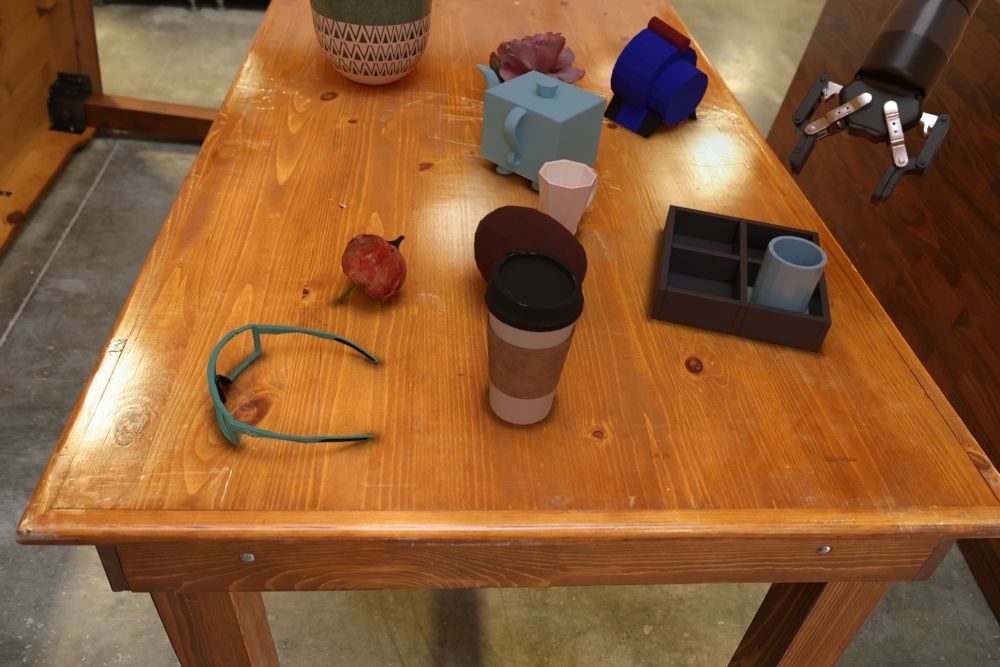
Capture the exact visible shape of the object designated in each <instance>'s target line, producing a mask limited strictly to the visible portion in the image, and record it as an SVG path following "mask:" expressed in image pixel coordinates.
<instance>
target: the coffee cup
mask: <svg viewBox="0 0 1000 667" xmlns="http://www.w3.org/2000/svg"><path fill="white" fill-rule="evenodd" d="M584 297H585V296H584V293H583V283H581V279H580V277H579V275H578V274H577V273H576V271H575V270H574V269H573V268H572V267H571V266H570V265H569V264H567V263H566V262H565V261H563V260H562V259H560V258H558V257H556V256H555V255H552V254H550V253H548V252H544V251H541V250H535V249H520V250H513V251H508V252H506V253H504V254H503V255H502V256H500V257H499V258H498V259H497V260H496V262H495V263H494V265H493V267H492V271H491V275H490V279H489V281H488V282H487V283H486V286H485V292H484V303H485V306H486V308H487V310H488V311H487V314H486V334H487V338H486V339H487V362H488V363H487V364H488V365H487V366H488V381H489V382H488V386H489V387H488V388H489V389H488V391H489V392H488V399H489V400H488V401H489V405H490V409H491V410H492V412H494V414H495V415H496V416H497V417H498V418H500V419H501V420H502V421H505V422H507V423H510V424H513V425H514V424H515V425H519V426H520V425H522V426H524V425H532V424H536V423H538V422H541V421H542V420H544V419H545V418H546V417H547V416H548V414H549V413H550V411H551V409H552V405H553V401H554V398H555V395H556V392H557V387H558V385H559V382H560V379H561V376H562V372H563V369H564V366H565V363H566V360H567V356H568V353H569V350H570V348H571V344H572V340H573V338H574V335H575V331H576V322H577V321H578V320H579V318H580V317H581V315H582V313H583V311H584V310H583V309H584V304H585V298H584Z"/></svg>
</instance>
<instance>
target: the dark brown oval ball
mask: <svg viewBox="0 0 1000 667" xmlns="http://www.w3.org/2000/svg"><path fill="white" fill-rule="evenodd" d="M473 237H474V239H473V257H474V261H475V265H476V267H477V268H476V269H477V270H478V271H479V273H480V276H482V278H483V280H484V283H486V284H487V282H488V281H489V279H490V275H491V271H492V267H493V265H494V263H495V262H496V260H497V259H498V258H499V257H500V256H502V255H503V254H504V253H506V252H508V251H513V250H520V249H535V250H541V251H544V252H548V253H550V254H552V255H555V256H556V257H558V258H560V259H562V260H563V261H565V262H566V263H567V264H569V265H570V266H571V267H572V268H573V269H574V270H575V271H576V273H577V274H578V275H579V277H580V279H581V283H582V284H584V282H585V278H586V276H587V272H588V258H587V252H586V250H585V248H584V246H583V244H582V243H581V241H580V240H578V238H577V237H576V236H575V235H573V234H572V233H571V232H570V231H569V230H567V229H566V228H565V227H564V226H563V225H562V224H561V223H559V222H558V221H556V220H555V219H554V218H552V217H551V216H549V215H547V214H545V213H543V212H541V211H540V210H538V209H536V208H533V207H529V206H522V205H511V204H507V205H503V206H500V207H497V208H495V209H494V210H492V211H490V212H489V213H487V214H486V215H485V216H484V217H483V218H481V219H480V220H479V222H478V225H477V227H476V230H475V232H474V236H473Z"/></svg>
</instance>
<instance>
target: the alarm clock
mask: <svg viewBox="0 0 1000 667" xmlns="http://www.w3.org/2000/svg"><path fill="white" fill-rule="evenodd" d="M691 43H692V42H691V39H690V38H689V37H688V36H686V35H684V34H683V33H682V32H680V31H679V30H677V29H675V27H672V26H671V25H670V24H668V23H667V22H665V21H664V20H663V19H660V18H659V17H658V16H656V15H654V16H652V17H650V19H649V20H648V22H647V26H646V28H643V29H642V30H640V31H639V32H637V33H636V34H635V35H634V36H632V38H631V39H630V40H629V41H628V43H627V44H626V45H625V46H624V47H623V49H622V51H621V52H620V54H619V55H618V57H617V59H616V61H615V64H614V66H613V68H612V71H611V76H610V80H609V81H610V89H611V92H612V93H613V95H612V96H611V98H610V101H609V103H608V104H607V107H606V108H605V112H604V117H605V118H607V119H608V120H610V121H611V122H614V123H616V124H618V125H619V126H622V127H623V128H626V129H627V130H630V131H632V132H634V133H635V134H637V135H639V136H641V137H643V138H645V139H647V138H649V137H650V136H651V135H652V134H654V133H655V132H656V131H657V130H658V129H659V128H660V127H661V126H662V125H664V124H666V125H667V126H671V127H673V126H677V125H679V124H681V123H683V122H684V121H685V120H687V119H688V118H689V119H692V120H695V121H697V120H698V119H697V111H696V110H697V108H698V107H699V106H700V104H701V102H702V100H703V98H704V96H705V94H706V92H707V89H708V85H709V77H708V74H707V73H705V72H704V71H702V70H700V68H697V66H698V55H697V52H696V50H695V49H694V48H692V47H691Z"/></svg>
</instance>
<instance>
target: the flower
mask: <svg viewBox="0 0 1000 667" xmlns="http://www.w3.org/2000/svg"><path fill="white" fill-rule="evenodd" d="M566 44H567V38H566V37H565V36H563V35H562V32H556V33H553V32H552V31H548V32H546V33H545V34H544V33H539V32H538V33H535V34H534V35H532V36H530V35H525V36H524V37H522V38H521V39H520V40H519V39H518V38H514V39H512V40H509V41H501V42H500V43H499V45H498V47H497V48H496V52H495V51H494V50H493V51H492V52H491V53H490V55H489V59H488V63H489V68H491V69H492V70H493V71H494V72H495V74H496V75H497V77H498V79H499V82H500V83H501V84H502V83H504V82H507V81H509V80H512V79H514V78H516V77H519V76H521V75H524V74H526V73H528V72H531V71H533V70H534V71H537V72H539V73H542V74H545V75H547V76H550V77H552V78H555V79H558V80H560V81H563V82H565V83H568V84H574V83H576V82H579V81H580V80H582V79H583V78H584V77H585V76H586V73H587V71H586V69H580V68H576V67H572V65H574V63H575V61H576V55H575V53H574V52H573V51H572V49H571V47H567V46H566ZM565 46H566V47H565Z"/></svg>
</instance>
